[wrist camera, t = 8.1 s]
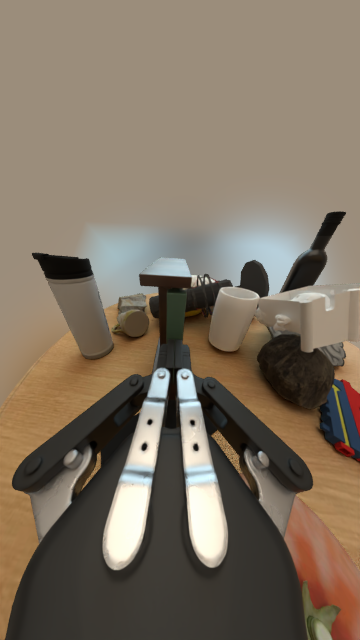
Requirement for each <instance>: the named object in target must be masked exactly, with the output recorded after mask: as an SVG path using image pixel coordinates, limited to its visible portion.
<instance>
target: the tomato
mask: <svg viewBox="0 0 360 640" xmlns="http://www.w3.org/2000/svg"><path fill="white" fill-rule="evenodd" d="M240 476H241V477H242V479H243V480H244V481H245V483H246V484H247V486H248V487H249V488H250V486H249V484H248V482H247V480H246V478H245V476H244V475H243V473H241V474H240ZM250 490H251V489H250ZM284 540H285V542H286V544H287V547H288V549H289V551H290V554H291V556H292V559H293V562H294V565H295V568H296V571H297V574H298V578H299V582H300V586H301V591H302V597H303V605H304V614H305V623H306V629H307V636H308V640H360V571H359V569H358V568H357V566H356V565H355V563H354V562H353V560H352V559H351V558H350V556H349V555H348V553H347V552H346V551H345V549H344V548H343V546H342V545H341V544H340V542H339V541H338V540H337V538H336V537H335V536H334V535H333V533H332V532H331V531H330V530H329V528H328V527H327V526H326V525H325V524H324V522H323V521H322V520H321V519H320V518H319V517H318V516H317V515H316V514H315V513H314V512H313V511H312V510H311V509H310V508H309V507H308V506H307V505H306V504H305V503H304V502H303V501H302V500H301V499H299V498H298V497H297V496H296V495H295V498H294V502H293V506H292V510H291V514H290V518H289V521H288V525H287V529H286V533H285V537H284Z"/></svg>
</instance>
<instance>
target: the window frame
mask: <svg viewBox="0 0 360 640" xmlns="http://www.w3.org/2000/svg"><path fill="white" fill-rule="evenodd" d="M139 277H140V285H141V286H154V287H158V290H159V328H160V336H159V341H158V346H157V351H156V356H155V361H154V366H153V371H152V373H154V372H155V370H156V367H157V361H158V356H159V350H160V347H161V345H162V344H166V338H167V291H168V289H171V288H188V289H190V288H191V283H192V277H191V274H190V271H189V269H188V266H187V264H186V261H185V259H175V258H159V259H157V260H156V261H155V262H154V263H152V264H151V265H150V266H149V267H148V268H146V269H145V270H144V271H143V272H141V273H140V274H139ZM173 382H174V381H173ZM175 390H176V385H170V393H169V400H176V399H175Z"/></svg>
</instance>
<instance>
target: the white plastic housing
mask: <svg viewBox="0 0 360 640" xmlns="http://www.w3.org/2000/svg"><path fill="white" fill-rule="evenodd" d="M258 305H259V307H258V309H256V311H255V314H254V315H255V317H256V318H257V320H258V321H259V322H260V323H261V324H264V325H266V326H268V327H273V330H275V331H277V330H281V331H285V330H287V331H289V332H296V333H299V334H301V350H302V351H303V352H313V349H314V348H319V347H323V346H327V345H331V344H336V343H340V342H344V341H355V342H356V341H360V283H356V284H337V285H316V286H307V287H303V288H299V289H295V290H291V291H287V292H283V293H279V294H275V295H271V296H267V297H262V298H259V301H258Z"/></svg>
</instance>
